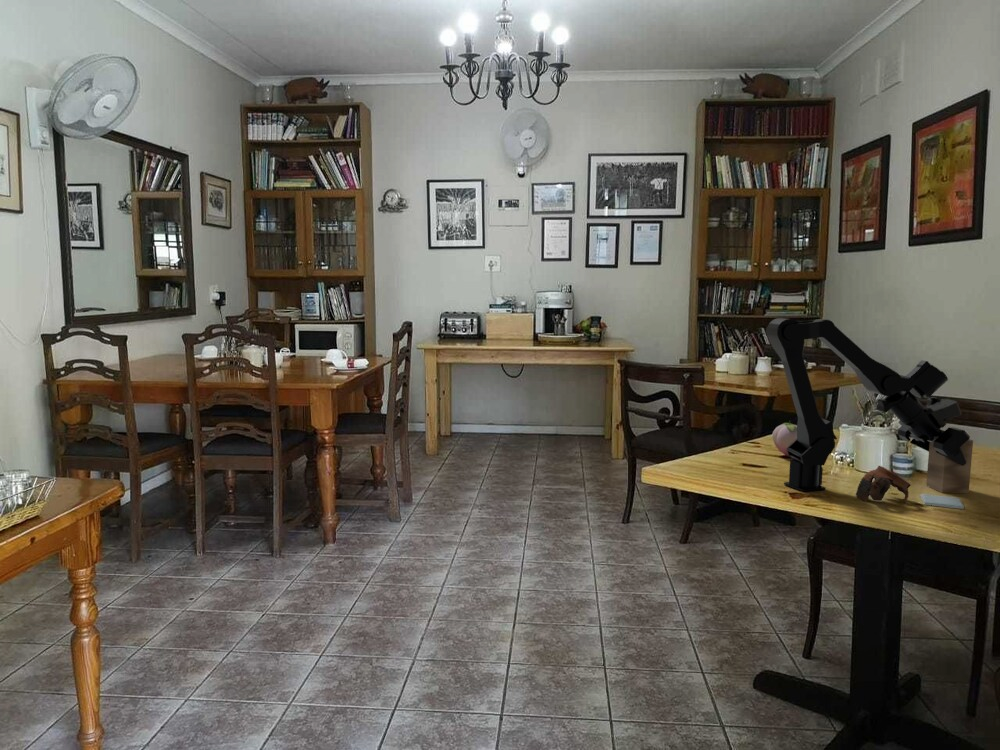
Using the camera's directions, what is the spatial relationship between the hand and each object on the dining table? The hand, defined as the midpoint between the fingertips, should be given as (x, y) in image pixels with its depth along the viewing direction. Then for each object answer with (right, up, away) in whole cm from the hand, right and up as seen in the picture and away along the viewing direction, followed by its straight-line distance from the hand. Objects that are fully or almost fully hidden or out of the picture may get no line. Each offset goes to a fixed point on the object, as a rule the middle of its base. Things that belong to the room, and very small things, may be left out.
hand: (955, 460), depth 164 cm
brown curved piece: (-22, -8, -9) cm, 25 cm away
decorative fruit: (-25, -3, +33) cm, 41 cm away
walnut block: (-1, -7, +1) cm, 7 cm away
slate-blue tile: (-9, -8, -10) cm, 16 cm away
